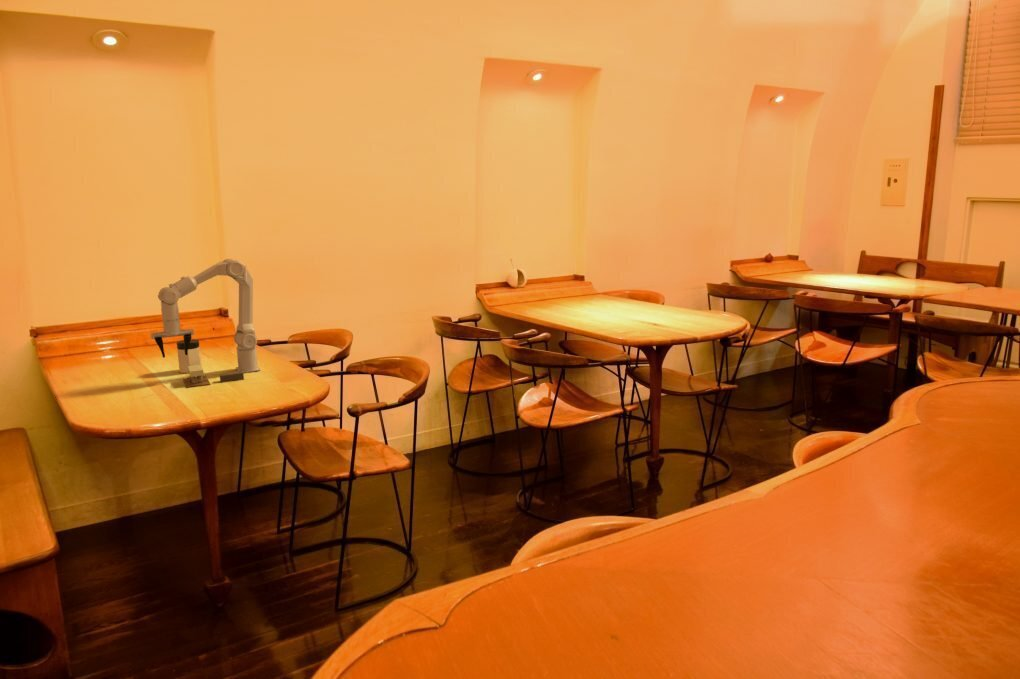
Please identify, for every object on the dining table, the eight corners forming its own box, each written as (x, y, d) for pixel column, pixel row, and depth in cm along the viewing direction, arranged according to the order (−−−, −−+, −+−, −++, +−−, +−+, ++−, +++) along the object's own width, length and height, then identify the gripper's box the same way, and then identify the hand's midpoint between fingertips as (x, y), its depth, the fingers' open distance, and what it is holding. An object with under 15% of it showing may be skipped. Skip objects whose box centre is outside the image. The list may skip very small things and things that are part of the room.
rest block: (220, 380, 276) (219, 374, 275) (242, 377, 280) (242, 371, 279) (221, 382, 273) (220, 376, 273) (243, 379, 277) (243, 373, 277)
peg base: (183, 379, 279) (182, 370, 278) (205, 376, 282) (204, 368, 282) (186, 387, 267) (185, 378, 266) (210, 384, 270) (209, 375, 270)
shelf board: (203, 375, 271) (203, 370, 270) (190, 376, 269) (189, 371, 268) (200, 369, 279) (200, 364, 279) (187, 371, 277) (187, 366, 277)
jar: (201, 372, 290) (198, 342, 287) (179, 374, 287) (175, 344, 285) (202, 367, 298) (199, 338, 296) (180, 369, 295) (177, 340, 293)
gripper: (149, 323, 264) (154, 360, 267) (193, 319, 271) (197, 355, 274) (148, 320, 270) (153, 356, 273) (191, 316, 277) (195, 351, 280)
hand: (175, 355), depth 274 cm, fingers open, 7 cm apart
